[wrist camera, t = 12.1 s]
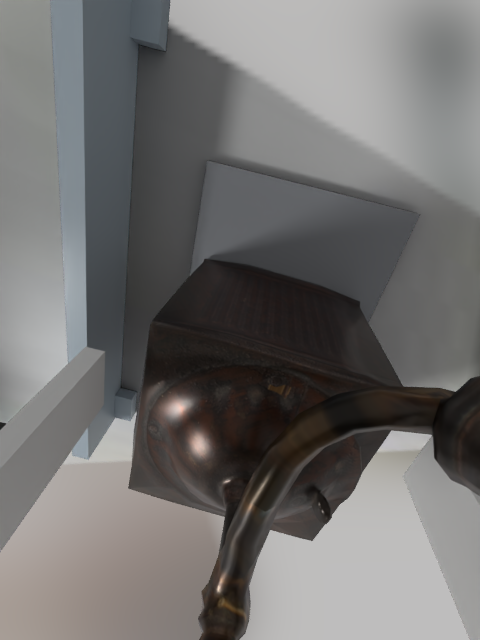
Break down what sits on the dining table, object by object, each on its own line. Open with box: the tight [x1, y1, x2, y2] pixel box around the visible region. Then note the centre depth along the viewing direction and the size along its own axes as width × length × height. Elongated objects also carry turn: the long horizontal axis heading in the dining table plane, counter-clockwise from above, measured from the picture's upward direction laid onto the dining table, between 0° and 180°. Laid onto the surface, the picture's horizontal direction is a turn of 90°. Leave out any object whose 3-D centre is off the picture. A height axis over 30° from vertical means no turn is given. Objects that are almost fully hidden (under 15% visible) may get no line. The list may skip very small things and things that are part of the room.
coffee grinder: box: [128, 259, 480, 640], centre depth 13 cm, size 16×11×18 cm
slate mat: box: [189, 161, 420, 322], centre depth 21 cm, size 12×16×1 cm
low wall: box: [50, 0, 170, 459], centre depth 19 cm, size 4×28×5 cm, turn 167°
